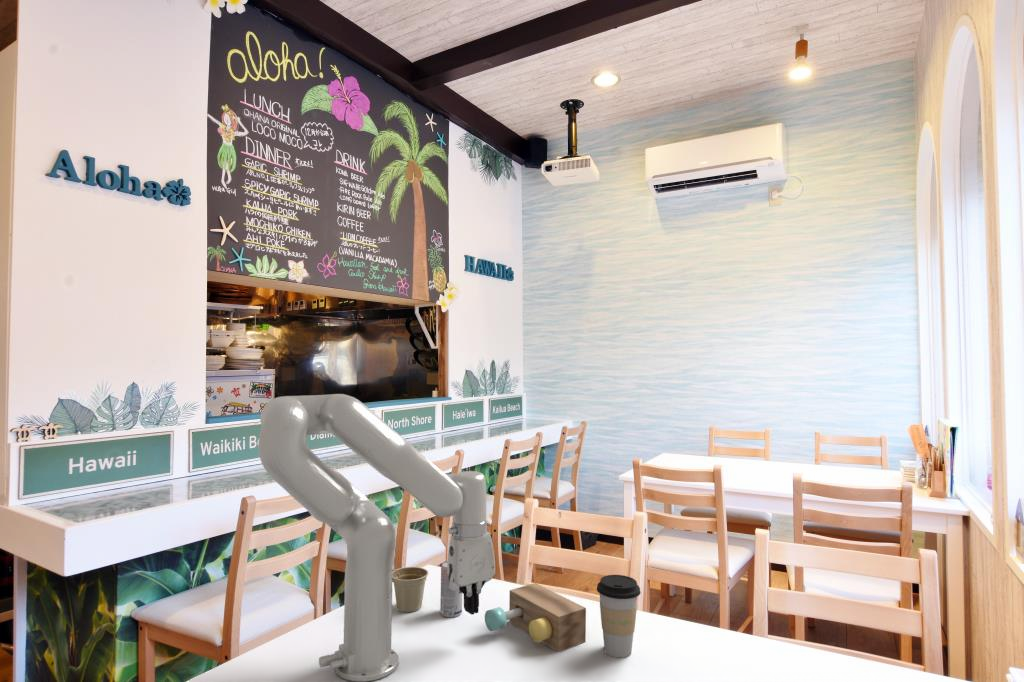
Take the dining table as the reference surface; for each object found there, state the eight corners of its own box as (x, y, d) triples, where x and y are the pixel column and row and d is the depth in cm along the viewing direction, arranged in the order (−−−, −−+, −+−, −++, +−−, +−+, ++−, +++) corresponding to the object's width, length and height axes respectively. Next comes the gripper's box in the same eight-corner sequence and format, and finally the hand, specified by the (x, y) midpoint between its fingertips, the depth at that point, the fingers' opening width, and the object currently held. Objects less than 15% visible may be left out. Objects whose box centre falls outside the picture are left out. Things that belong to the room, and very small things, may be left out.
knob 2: (541, 645, 129) (541, 625, 129) (528, 637, 132) (528, 617, 132) (578, 632, 135) (579, 612, 135) (565, 625, 139) (566, 605, 139)
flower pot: (382, 612, 148) (383, 577, 148) (400, 598, 157) (401, 564, 157) (417, 618, 145) (418, 582, 145) (433, 602, 154) (434, 569, 154)
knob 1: (495, 634, 134) (495, 614, 134) (484, 626, 137) (484, 607, 137) (533, 621, 140) (534, 602, 140) (522, 615, 144) (522, 596, 144)
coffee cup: (607, 664, 124) (607, 591, 125) (589, 643, 134) (589, 575, 134) (648, 658, 127) (648, 587, 127) (627, 638, 136) (628, 571, 136)
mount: (558, 651, 129) (558, 616, 130) (509, 621, 144) (509, 590, 144) (585, 641, 134) (585, 608, 134) (535, 613, 149) (535, 583, 149)
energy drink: (463, 609, 150) (464, 561, 151) (459, 618, 145) (460, 568, 145) (442, 608, 151) (443, 560, 151) (438, 617, 146) (438, 567, 146)
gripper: (449, 539, 125) (451, 628, 125) (507, 525, 134) (508, 608, 134) (431, 531, 131) (433, 615, 131) (488, 518, 140) (489, 597, 140)
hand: (471, 611), depth 133 cm, fingers closed
